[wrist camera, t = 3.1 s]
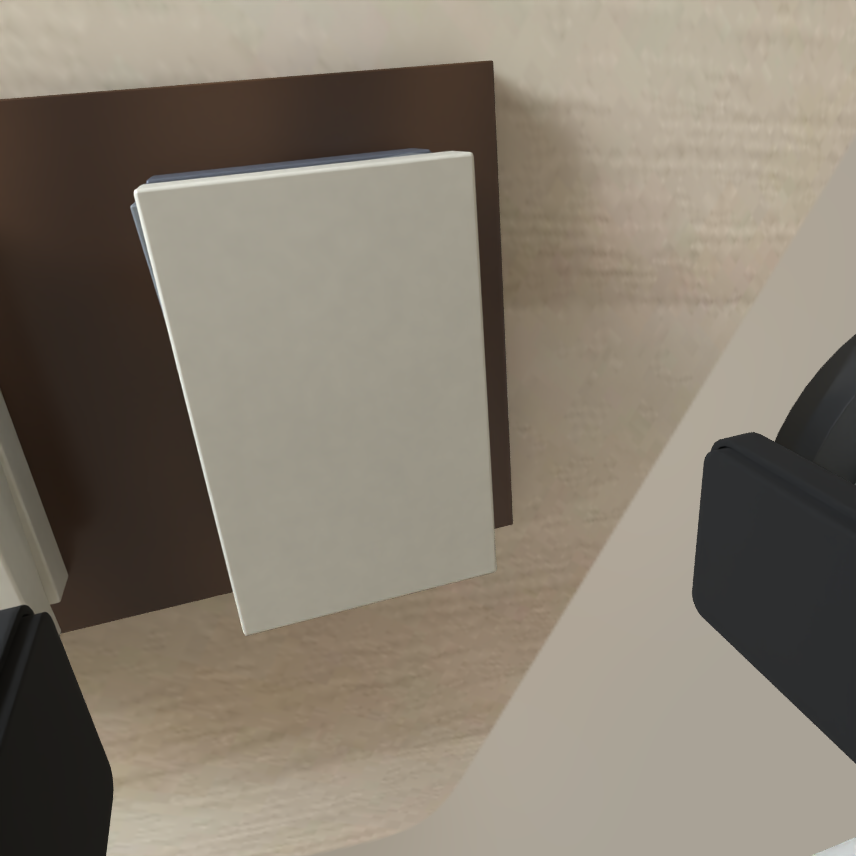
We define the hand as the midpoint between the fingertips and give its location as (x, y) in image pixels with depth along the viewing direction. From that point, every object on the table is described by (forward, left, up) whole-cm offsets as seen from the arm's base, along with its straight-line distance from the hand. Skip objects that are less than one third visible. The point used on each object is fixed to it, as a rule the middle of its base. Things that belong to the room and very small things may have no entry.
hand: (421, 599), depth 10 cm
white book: (0, 0, -9) cm, 9 cm away
